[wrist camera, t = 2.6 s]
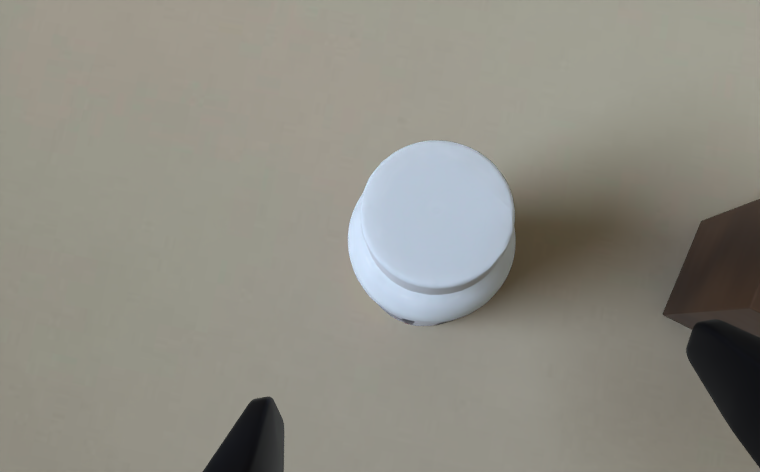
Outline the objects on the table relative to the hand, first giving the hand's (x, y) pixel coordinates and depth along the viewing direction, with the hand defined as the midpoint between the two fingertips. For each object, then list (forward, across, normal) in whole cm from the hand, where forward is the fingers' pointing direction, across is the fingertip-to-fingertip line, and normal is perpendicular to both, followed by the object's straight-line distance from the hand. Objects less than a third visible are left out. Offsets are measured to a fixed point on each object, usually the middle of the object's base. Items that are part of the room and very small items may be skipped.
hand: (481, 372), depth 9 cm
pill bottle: (+10, 0, +5) cm, 11 cm away
